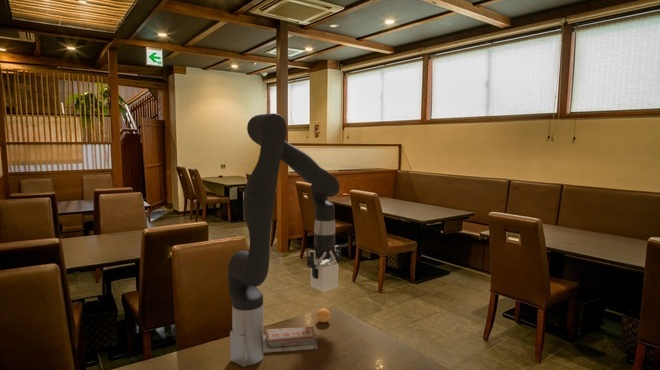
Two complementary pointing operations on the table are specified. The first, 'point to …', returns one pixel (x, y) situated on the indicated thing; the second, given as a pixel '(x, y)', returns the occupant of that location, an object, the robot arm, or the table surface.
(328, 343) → the table surface
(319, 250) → the robot arm
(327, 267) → the white foam cube
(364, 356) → the table surface
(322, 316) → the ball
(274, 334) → the packaged product
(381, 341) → the table surface
